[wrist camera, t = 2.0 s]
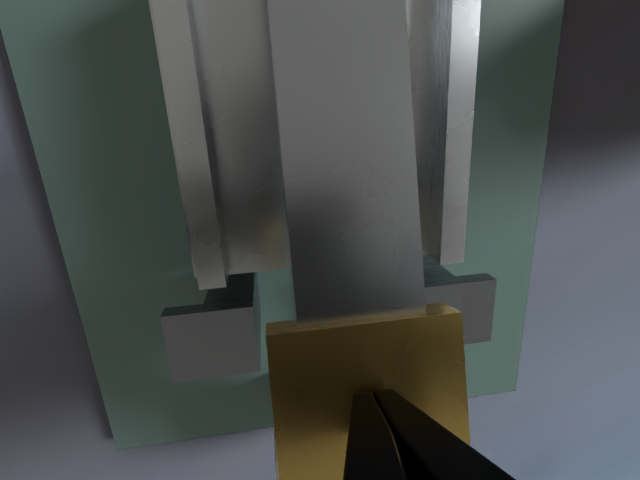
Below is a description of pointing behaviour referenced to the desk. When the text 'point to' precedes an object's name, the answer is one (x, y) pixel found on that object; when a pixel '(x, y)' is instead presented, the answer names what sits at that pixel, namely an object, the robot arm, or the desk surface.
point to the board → (168, 216)
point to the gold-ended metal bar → (352, 235)
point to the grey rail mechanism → (266, 173)
